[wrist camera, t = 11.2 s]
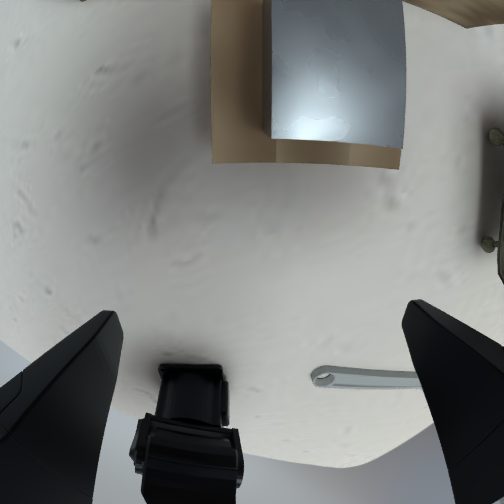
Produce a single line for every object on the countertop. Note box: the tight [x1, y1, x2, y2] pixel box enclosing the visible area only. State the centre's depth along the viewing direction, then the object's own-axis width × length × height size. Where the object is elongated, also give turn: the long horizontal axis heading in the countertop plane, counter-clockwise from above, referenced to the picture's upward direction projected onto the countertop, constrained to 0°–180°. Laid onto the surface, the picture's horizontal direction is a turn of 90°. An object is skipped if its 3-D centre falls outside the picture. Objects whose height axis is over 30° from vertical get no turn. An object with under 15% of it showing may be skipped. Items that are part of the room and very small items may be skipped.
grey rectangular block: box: [262, 0, 406, 149], centre depth 12 cm, size 5×7×8 cm
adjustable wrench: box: [311, 366, 423, 390], centre depth 30 cm, size 25×6×2 cm, turn 68°
